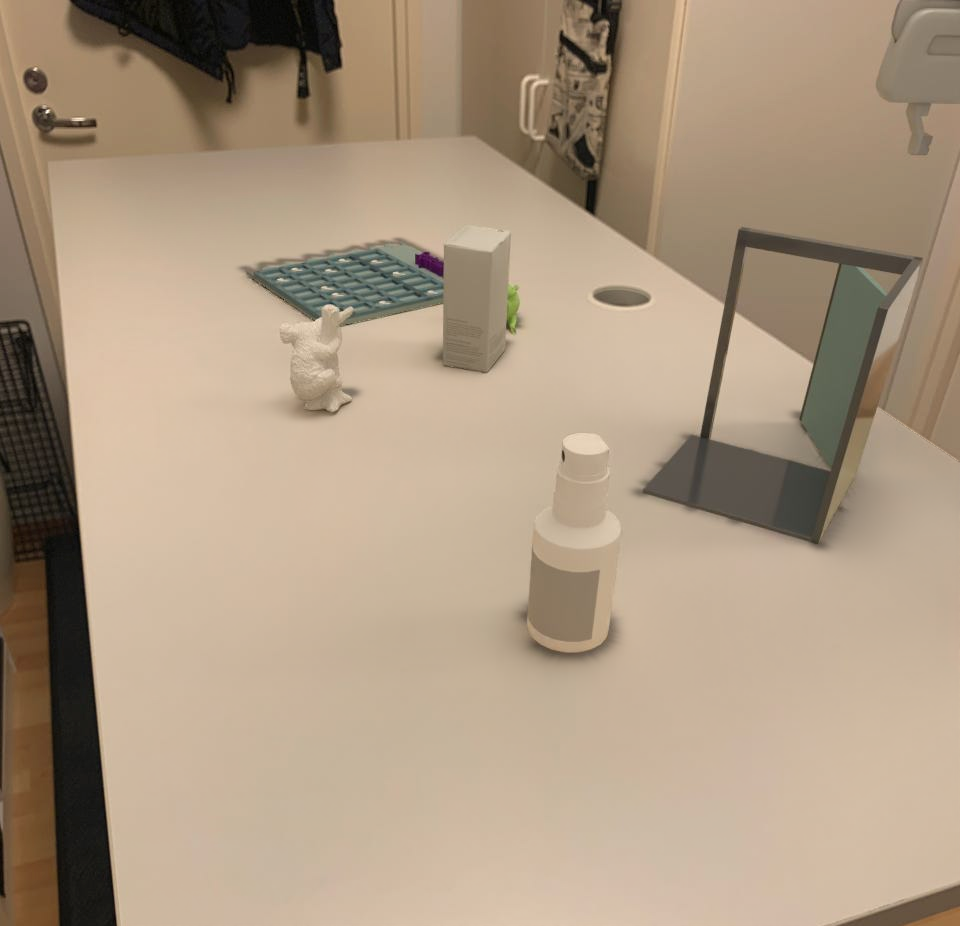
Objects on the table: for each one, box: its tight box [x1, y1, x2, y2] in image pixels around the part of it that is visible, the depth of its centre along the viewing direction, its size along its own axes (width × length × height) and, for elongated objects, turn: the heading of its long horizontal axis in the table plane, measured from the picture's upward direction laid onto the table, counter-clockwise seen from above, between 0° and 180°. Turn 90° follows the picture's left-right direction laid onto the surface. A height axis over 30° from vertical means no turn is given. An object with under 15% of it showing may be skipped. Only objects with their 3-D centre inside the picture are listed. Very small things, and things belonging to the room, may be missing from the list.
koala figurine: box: [279, 304, 354, 413], centre depth 109 cm, size 8×7×12 cm
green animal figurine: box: [506, 283, 521, 334], centre depth 132 cm, size 6×5×6 cm
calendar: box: [245, 241, 444, 327], centre depth 145 cm, size 27×28×2 cm
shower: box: [642, 226, 924, 545], centre depth 91 cm, size 18×16×24 cm
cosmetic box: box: [442, 224, 512, 373], centre depth 119 cm, size 8×7×16 cm
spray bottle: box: [526, 432, 623, 653], centre depth 74 cm, size 7×7×18 cm
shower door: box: [799, 263, 889, 469], centre depth 100 cm, size 14×6×19 cm, turn 1°
